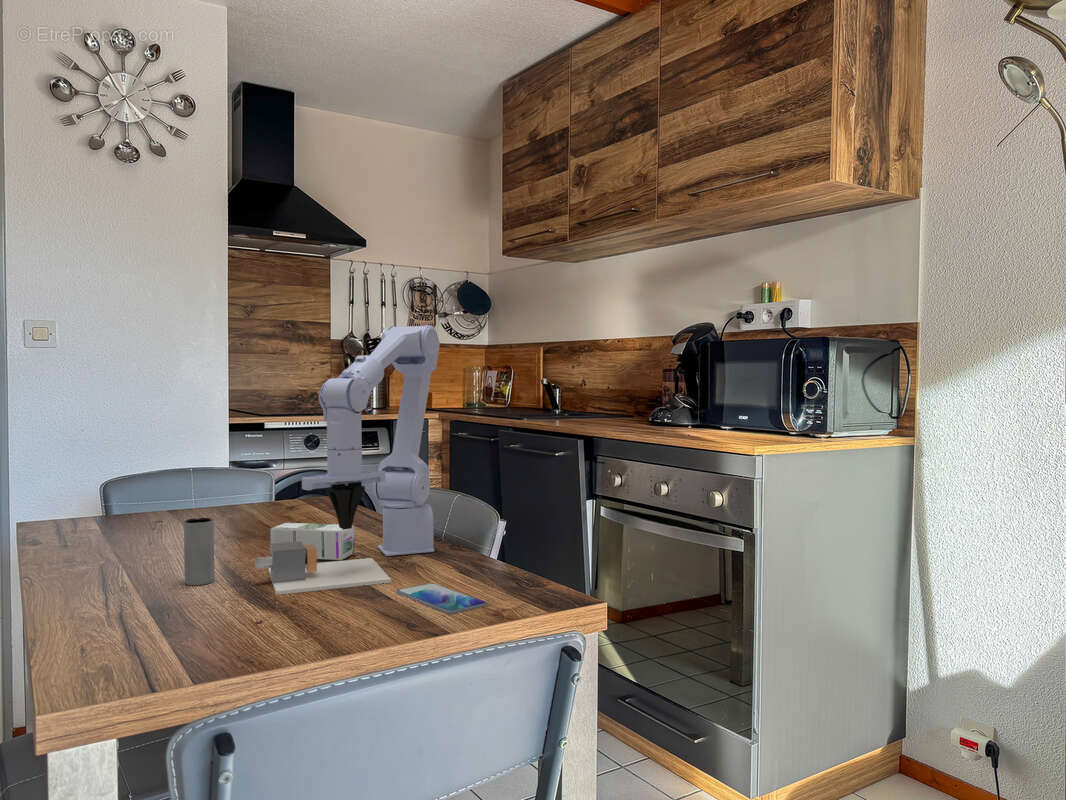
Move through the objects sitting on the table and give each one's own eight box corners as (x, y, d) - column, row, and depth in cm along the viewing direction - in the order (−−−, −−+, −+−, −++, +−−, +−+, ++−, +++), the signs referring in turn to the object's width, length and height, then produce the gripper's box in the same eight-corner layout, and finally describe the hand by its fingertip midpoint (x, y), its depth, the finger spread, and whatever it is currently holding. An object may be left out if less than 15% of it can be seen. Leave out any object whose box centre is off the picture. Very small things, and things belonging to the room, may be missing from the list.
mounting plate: (371, 561, 142) (371, 557, 142) (390, 582, 127) (390, 579, 127) (268, 571, 135) (268, 567, 135) (275, 595, 120) (275, 591, 120)
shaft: (313, 565, 132) (313, 544, 132) (316, 571, 128) (316, 549, 128) (254, 571, 128) (254, 549, 128) (256, 577, 125) (255, 555, 125)
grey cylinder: (220, 579, 129) (219, 518, 129) (200, 586, 125) (199, 523, 125) (198, 577, 131) (197, 516, 131) (178, 584, 127) (177, 521, 126)
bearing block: (301, 571, 132) (301, 541, 132) (305, 579, 127) (305, 548, 127) (270, 574, 130) (270, 543, 130) (273, 583, 125) (272, 551, 125)
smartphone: (432, 582, 126) (489, 602, 115) (432, 587, 126) (489, 608, 115) (394, 589, 121) (449, 611, 110) (393, 595, 121) (449, 617, 110)
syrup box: (269, 558, 145) (342, 562, 142) (269, 526, 144) (342, 530, 141) (285, 550, 150) (355, 555, 147) (285, 520, 150) (355, 524, 147)
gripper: (371, 444, 139) (372, 519, 140) (293, 449, 130) (295, 529, 131) (391, 447, 134) (392, 525, 134) (311, 453, 125) (312, 536, 125)
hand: (345, 528), depth 132 cm, fingers closed
